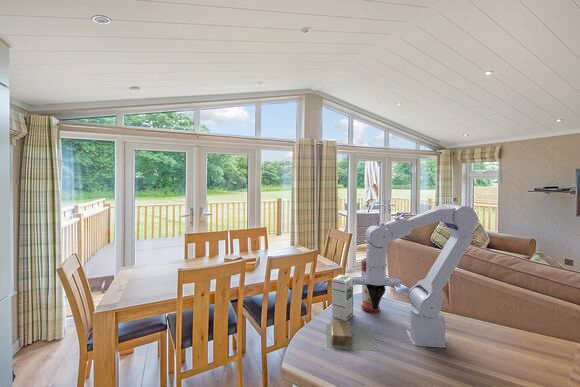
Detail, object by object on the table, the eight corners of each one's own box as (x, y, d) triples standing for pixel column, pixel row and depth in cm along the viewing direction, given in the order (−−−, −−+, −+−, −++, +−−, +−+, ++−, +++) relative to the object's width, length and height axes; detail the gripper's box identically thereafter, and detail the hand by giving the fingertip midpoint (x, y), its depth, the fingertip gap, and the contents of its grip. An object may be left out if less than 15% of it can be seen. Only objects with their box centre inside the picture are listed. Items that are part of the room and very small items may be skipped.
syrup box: (346, 322, 100) (346, 281, 99) (331, 317, 104) (331, 278, 103) (353, 315, 105) (353, 277, 104) (338, 311, 108) (339, 273, 107)
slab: (349, 321, 94) (330, 320, 95) (351, 336, 85) (331, 335, 86) (348, 329, 95) (330, 328, 95) (351, 346, 86) (331, 344, 86)
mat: (370, 328, 96) (370, 327, 96) (378, 352, 83) (378, 350, 83) (326, 325, 98) (326, 324, 98) (326, 348, 85) (326, 347, 85)
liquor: (360, 313, 106) (361, 239, 104) (360, 304, 113) (362, 235, 111) (380, 316, 104) (382, 240, 102) (380, 307, 111) (381, 236, 109)
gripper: (396, 262, 91) (395, 303, 92) (350, 260, 92) (349, 301, 93) (403, 269, 84) (401, 314, 85) (352, 267, 85) (352, 311, 86)
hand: (374, 308), depth 89 cm, fingers closed
